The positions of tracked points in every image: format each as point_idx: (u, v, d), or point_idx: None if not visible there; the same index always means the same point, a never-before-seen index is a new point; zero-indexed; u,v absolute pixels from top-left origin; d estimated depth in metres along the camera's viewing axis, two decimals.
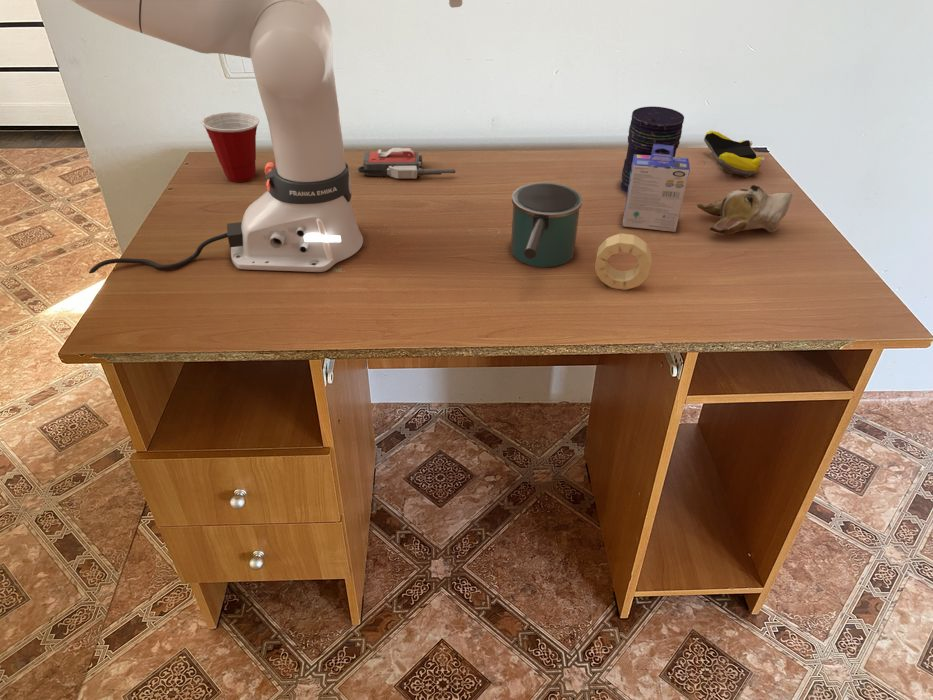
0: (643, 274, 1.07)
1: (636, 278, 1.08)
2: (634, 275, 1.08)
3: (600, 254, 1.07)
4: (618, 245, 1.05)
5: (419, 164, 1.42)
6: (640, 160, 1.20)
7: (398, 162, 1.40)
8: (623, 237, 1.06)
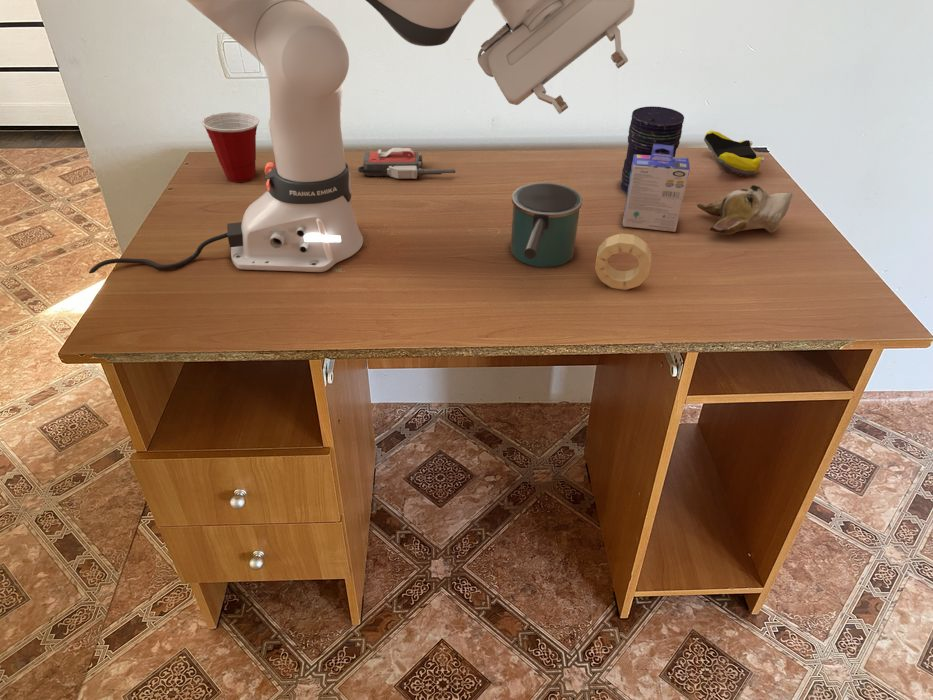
0: (643, 274, 1.07)
1: (636, 278, 1.08)
2: (634, 275, 1.08)
3: (600, 254, 1.07)
4: (618, 245, 1.05)
5: (419, 164, 1.42)
6: (640, 160, 1.20)
7: (398, 162, 1.40)
8: (623, 237, 1.06)
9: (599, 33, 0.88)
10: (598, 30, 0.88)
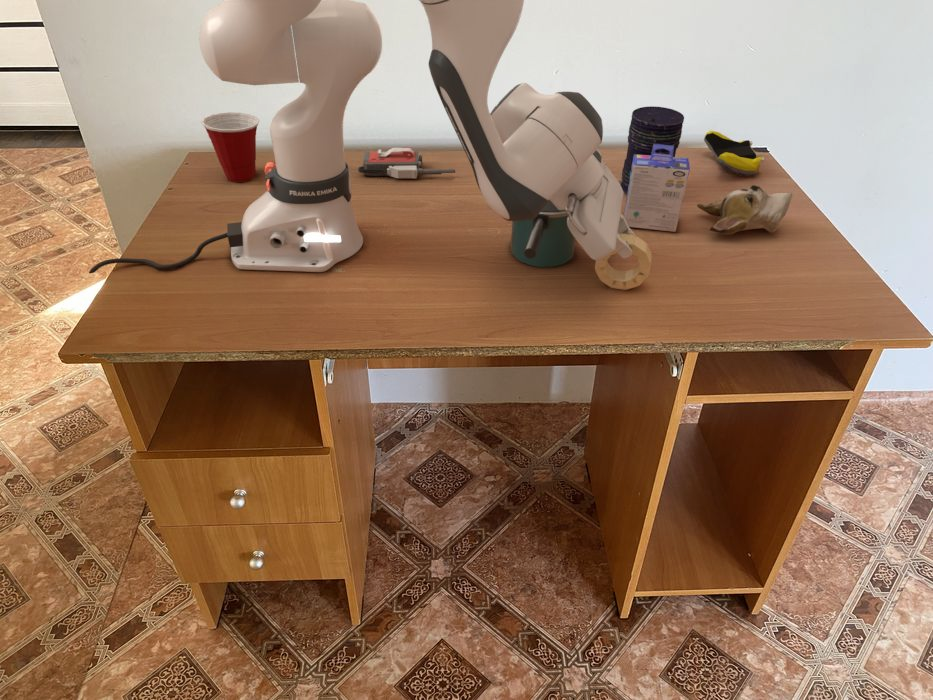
0: (643, 274, 1.07)
1: (636, 278, 1.08)
2: (634, 275, 1.08)
3: None
4: None
5: (419, 164, 1.42)
6: (640, 160, 1.20)
7: (398, 162, 1.40)
8: (623, 237, 1.06)
9: None
10: (621, 204, 1.07)
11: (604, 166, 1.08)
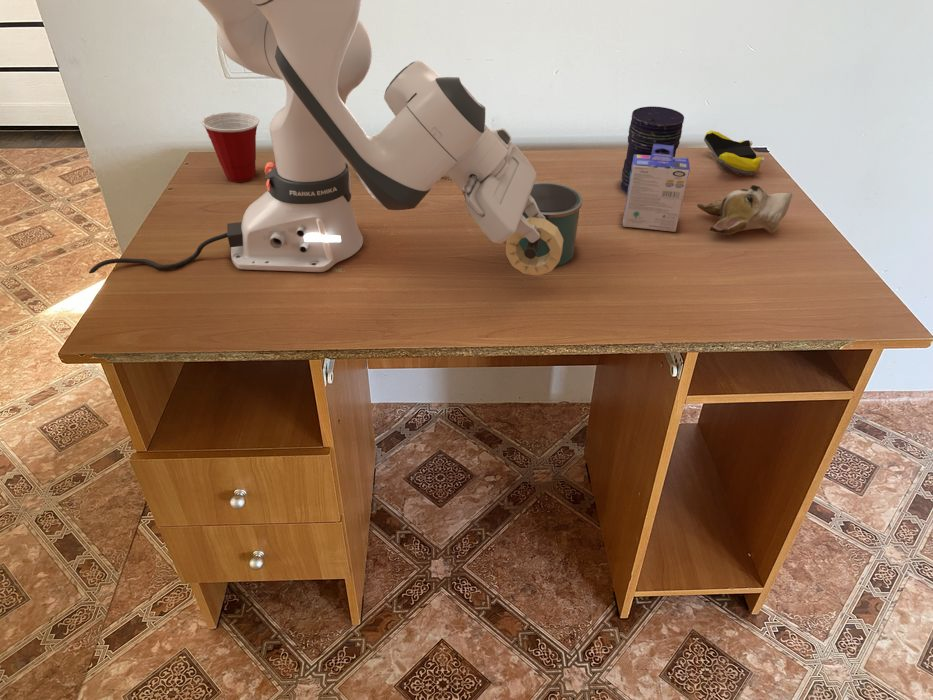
0: (554, 259, 1.04)
1: (547, 263, 1.05)
2: (546, 260, 1.05)
3: (509, 238, 1.04)
4: None
5: None
6: (640, 160, 1.20)
7: None
8: (532, 221, 1.03)
9: (531, 190, 1.04)
10: (531, 187, 1.04)
11: (514, 148, 1.05)
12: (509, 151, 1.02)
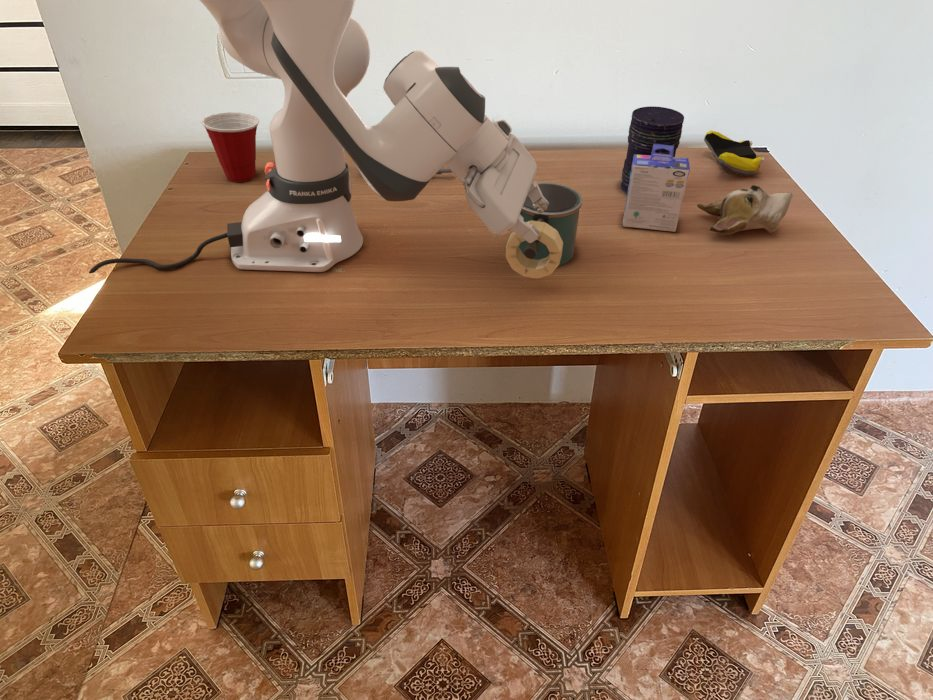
0: (554, 262, 1.05)
1: (547, 266, 1.05)
2: (545, 263, 1.06)
3: (510, 242, 1.04)
4: None
5: None
6: (640, 160, 1.20)
7: None
8: None
9: (532, 182, 1.03)
10: (531, 179, 1.03)
11: (515, 140, 1.04)
12: (510, 142, 1.01)
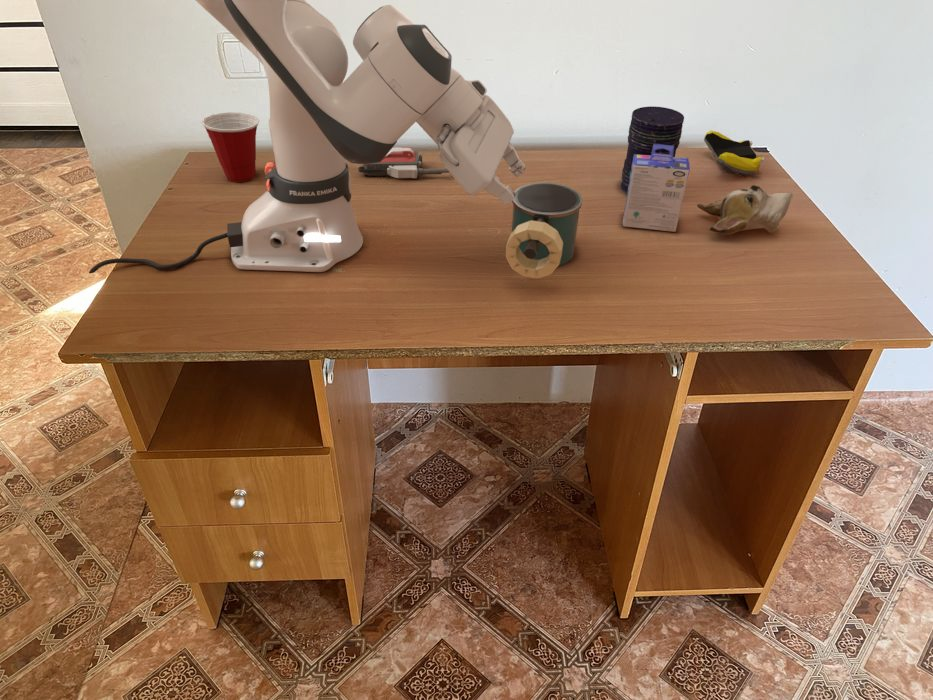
0: (554, 262, 1.05)
1: (547, 266, 1.05)
2: (545, 263, 1.06)
3: (510, 242, 1.04)
4: (527, 232, 1.03)
5: (419, 164, 1.42)
6: (640, 160, 1.20)
7: (398, 162, 1.41)
8: (532, 224, 1.03)
9: (508, 143, 1.01)
10: (507, 141, 1.01)
11: (490, 101, 1.02)
12: (484, 103, 0.99)
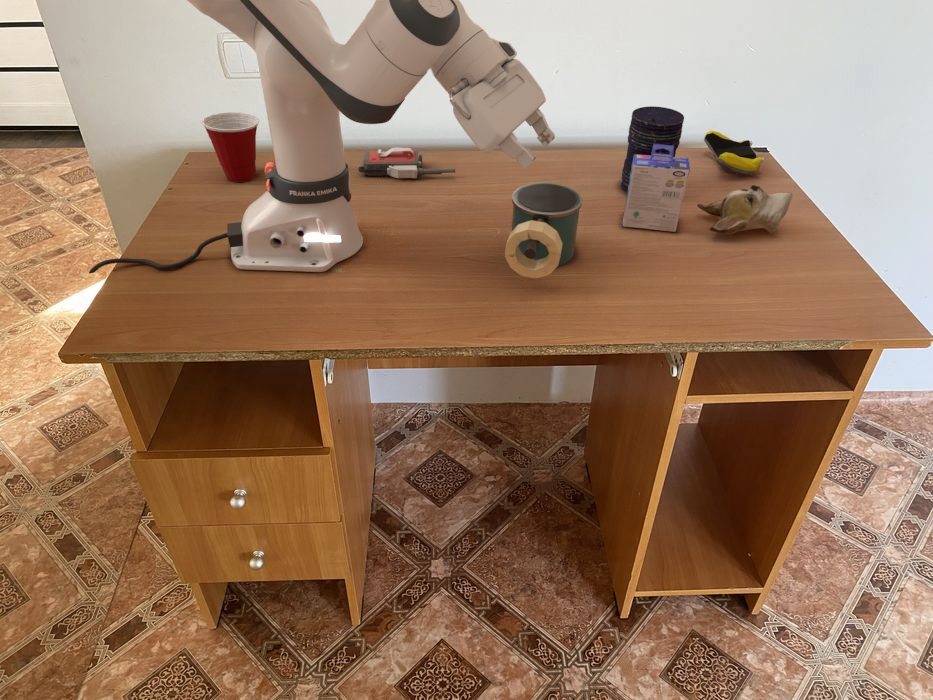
0: (553, 263, 1.05)
1: (546, 267, 1.06)
2: (544, 264, 1.06)
3: (509, 241, 1.04)
4: (527, 232, 1.03)
5: (419, 164, 1.42)
6: (640, 160, 1.20)
7: (398, 162, 1.41)
8: (533, 224, 1.03)
9: (535, 109, 0.95)
10: (535, 106, 0.95)
11: (520, 65, 0.96)
12: (512, 64, 0.94)
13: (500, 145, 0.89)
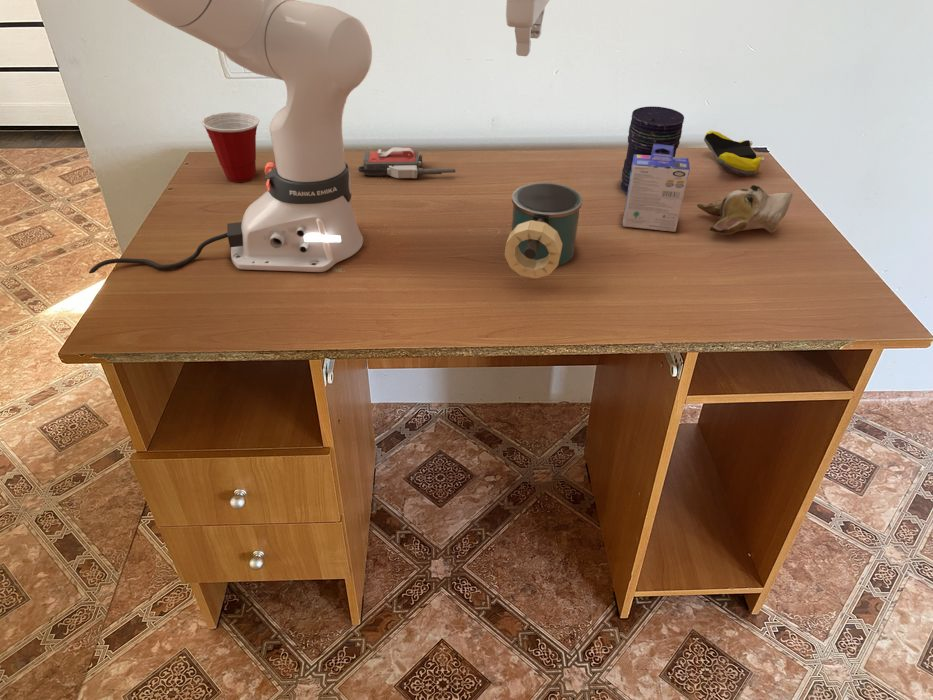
0: (552, 263, 1.05)
1: (546, 267, 1.06)
2: (544, 264, 1.06)
3: (509, 240, 1.04)
4: (527, 232, 1.03)
5: (419, 164, 1.42)
6: (640, 160, 1.20)
7: (398, 162, 1.41)
8: (533, 224, 1.03)
9: None
10: (548, 1, 1.00)
11: None
12: None
13: None
